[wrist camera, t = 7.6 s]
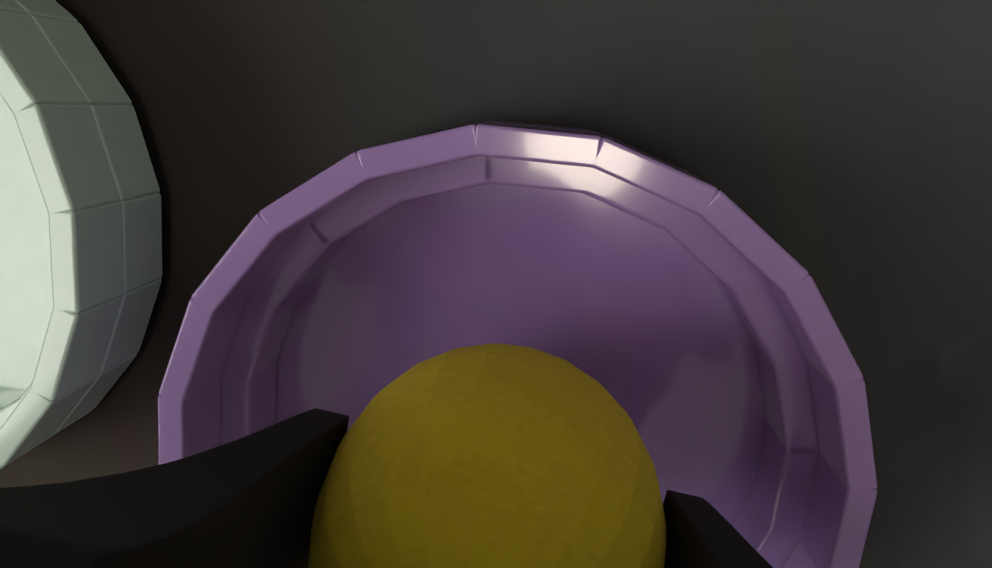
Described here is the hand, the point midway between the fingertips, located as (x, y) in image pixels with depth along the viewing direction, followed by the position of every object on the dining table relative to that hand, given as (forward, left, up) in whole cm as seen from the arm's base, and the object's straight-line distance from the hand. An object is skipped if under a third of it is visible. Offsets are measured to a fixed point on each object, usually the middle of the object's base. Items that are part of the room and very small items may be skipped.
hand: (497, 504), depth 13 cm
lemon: (0, 0, -4) cm, 4 cm away
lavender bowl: (0, 0, -4) cm, 4 cm away
